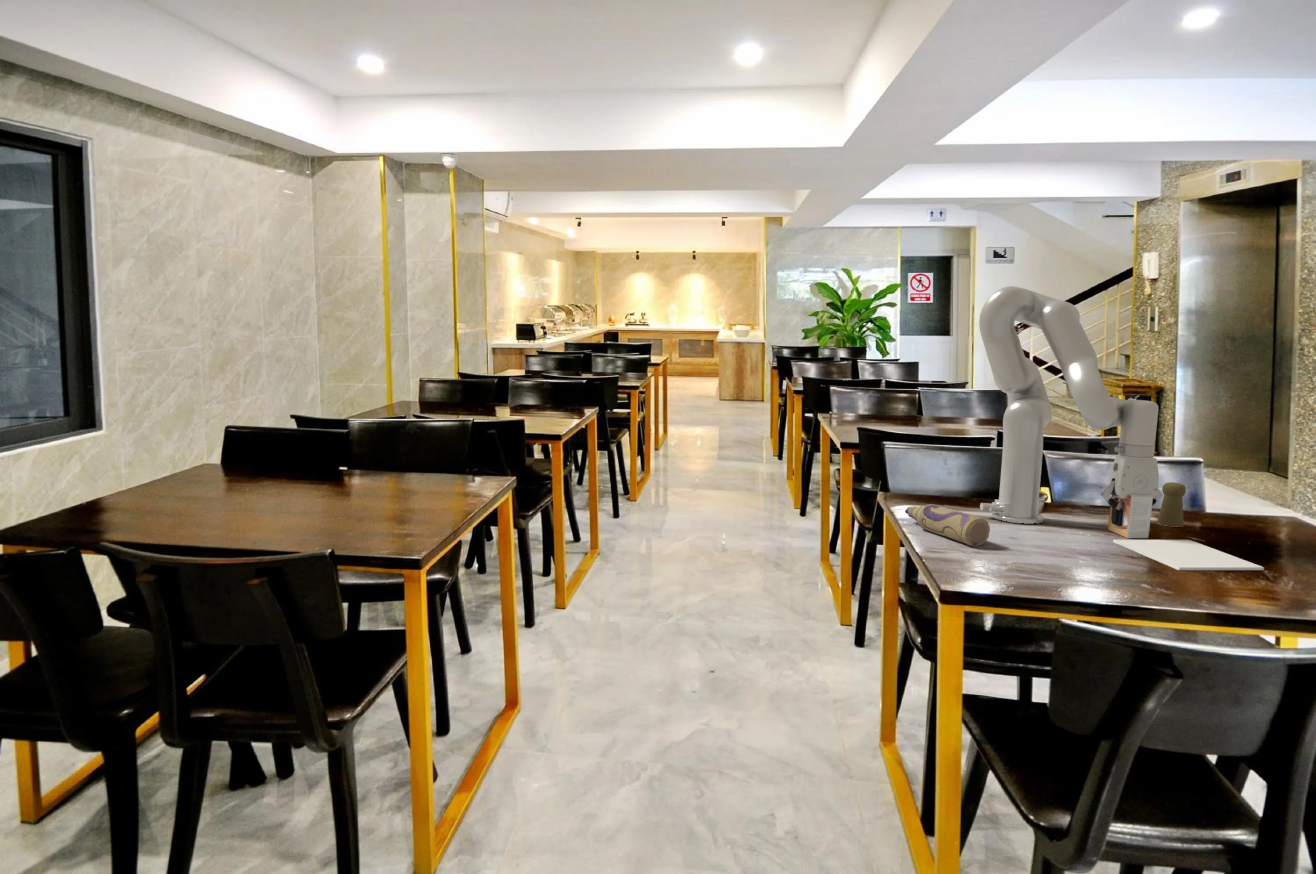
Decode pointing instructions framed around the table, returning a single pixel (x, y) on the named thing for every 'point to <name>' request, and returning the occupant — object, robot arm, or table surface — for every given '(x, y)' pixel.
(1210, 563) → the mat
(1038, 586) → the table surface
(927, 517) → the decorative bottle
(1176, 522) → the cork
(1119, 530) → the small box
